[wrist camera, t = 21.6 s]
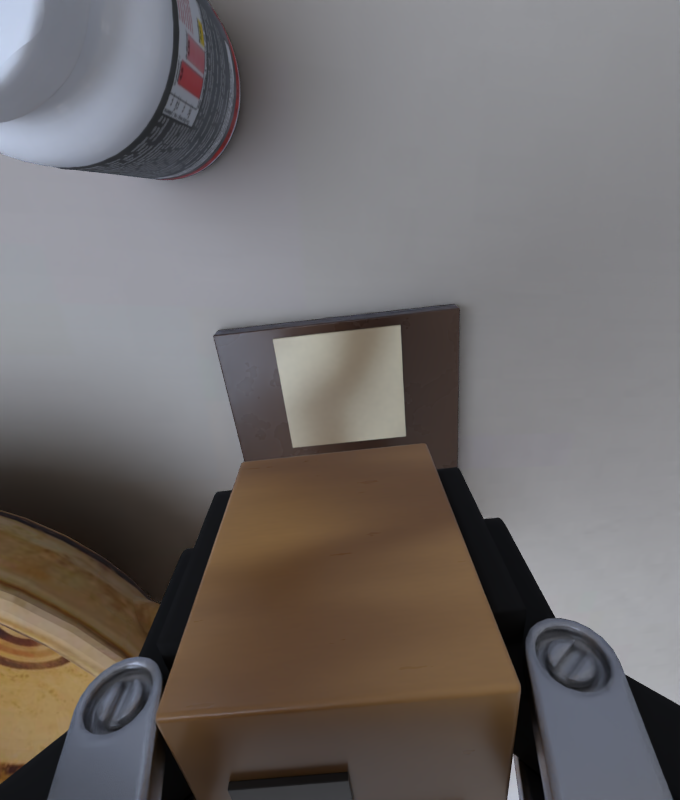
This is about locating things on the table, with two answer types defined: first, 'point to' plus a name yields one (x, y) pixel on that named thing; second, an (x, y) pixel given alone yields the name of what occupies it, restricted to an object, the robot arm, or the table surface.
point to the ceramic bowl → (57, 632)
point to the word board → (346, 383)
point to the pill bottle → (116, 85)
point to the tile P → (341, 642)
